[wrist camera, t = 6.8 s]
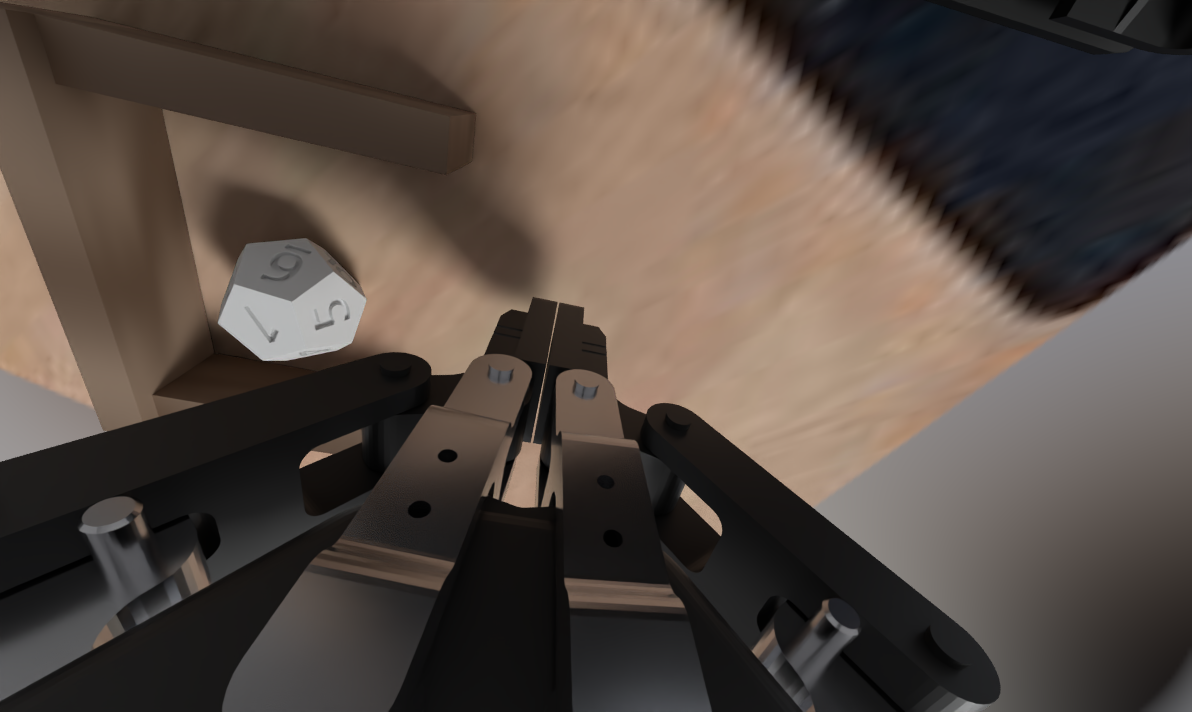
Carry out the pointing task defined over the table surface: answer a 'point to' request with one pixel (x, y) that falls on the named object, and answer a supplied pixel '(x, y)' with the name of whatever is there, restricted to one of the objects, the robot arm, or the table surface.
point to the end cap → (1093, 22)
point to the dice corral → (162, 189)
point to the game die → (291, 301)
